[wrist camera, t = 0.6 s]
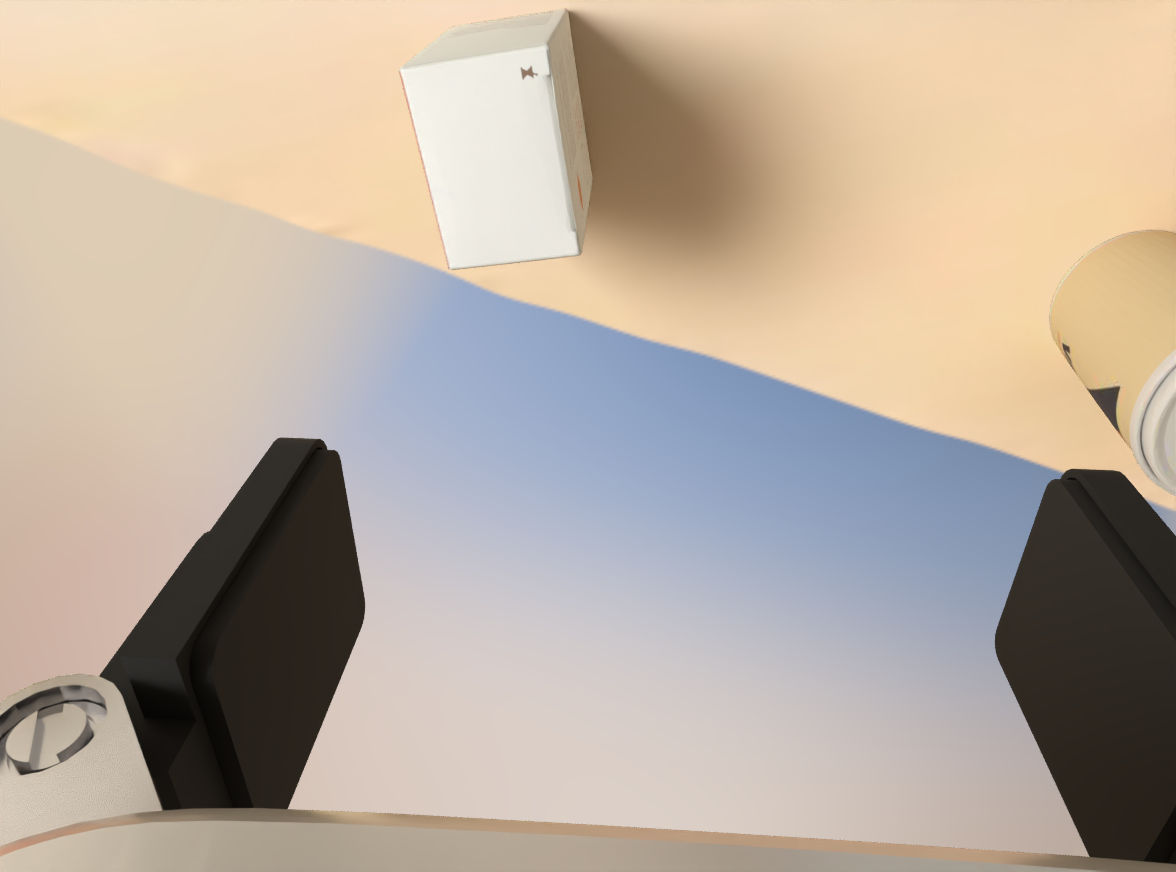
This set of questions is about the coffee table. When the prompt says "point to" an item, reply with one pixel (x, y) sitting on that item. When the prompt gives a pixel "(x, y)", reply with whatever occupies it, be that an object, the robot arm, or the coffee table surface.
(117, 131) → the coffee table surface
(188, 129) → the coffee table surface
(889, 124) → the coffee table surface
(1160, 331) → the coffee cup
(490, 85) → the small box
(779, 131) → the coffee table surface
